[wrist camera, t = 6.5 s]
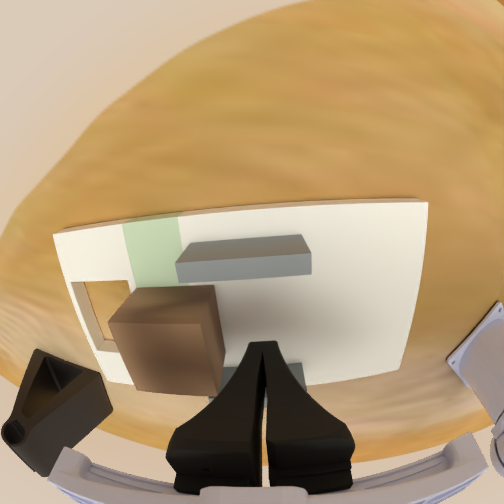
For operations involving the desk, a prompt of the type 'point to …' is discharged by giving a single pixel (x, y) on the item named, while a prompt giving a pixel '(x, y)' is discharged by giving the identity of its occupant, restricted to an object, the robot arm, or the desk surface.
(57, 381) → the black open bin
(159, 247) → the pad
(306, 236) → the board
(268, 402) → the robot arm
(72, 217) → the desk surface
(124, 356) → the block
